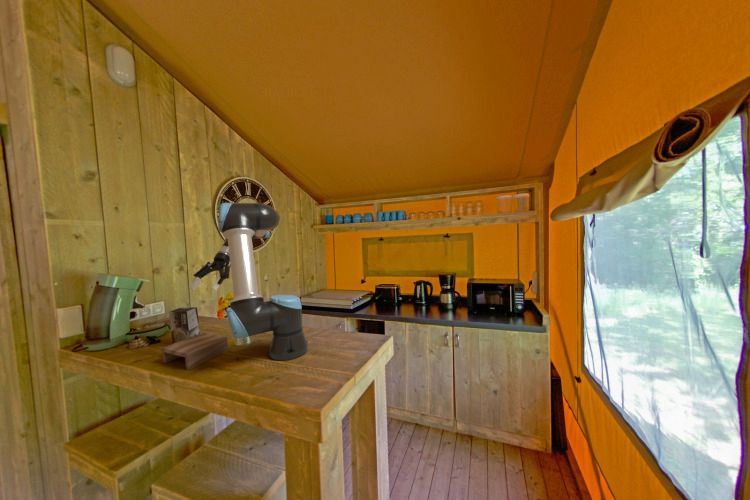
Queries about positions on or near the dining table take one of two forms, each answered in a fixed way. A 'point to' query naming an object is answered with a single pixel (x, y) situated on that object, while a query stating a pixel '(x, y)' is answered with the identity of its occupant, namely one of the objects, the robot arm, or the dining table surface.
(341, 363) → the dining table surface
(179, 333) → the coffee box
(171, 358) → the walnut shelf
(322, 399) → the dining table surface
